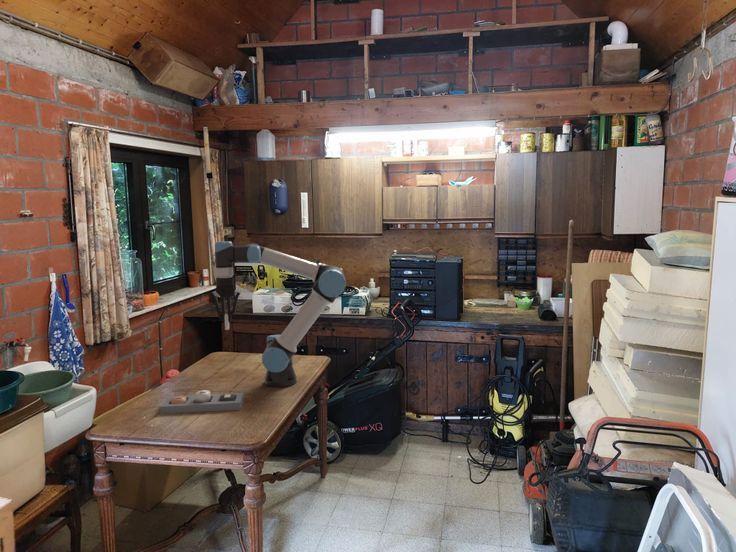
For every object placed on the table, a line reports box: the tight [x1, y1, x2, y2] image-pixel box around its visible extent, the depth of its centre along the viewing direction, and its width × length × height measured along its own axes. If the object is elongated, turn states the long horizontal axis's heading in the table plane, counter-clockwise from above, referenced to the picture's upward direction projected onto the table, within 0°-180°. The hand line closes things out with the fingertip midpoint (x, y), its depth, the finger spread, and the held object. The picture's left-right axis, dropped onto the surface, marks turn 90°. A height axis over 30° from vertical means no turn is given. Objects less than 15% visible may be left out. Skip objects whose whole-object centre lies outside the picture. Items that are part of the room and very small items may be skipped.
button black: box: [220, 393, 235, 402], centre depth 227 cm, size 6×6×4 cm
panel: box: [159, 392, 245, 415], centre depth 226 cm, size 32×12×3 cm, turn 97°
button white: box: [194, 389, 211, 403], centre depth 226 cm, size 6×6×4 cm
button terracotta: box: [171, 395, 186, 404], centre depth 225 cm, size 6×6×4 cm
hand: (227, 329), depth 238 cm, fingers closed
